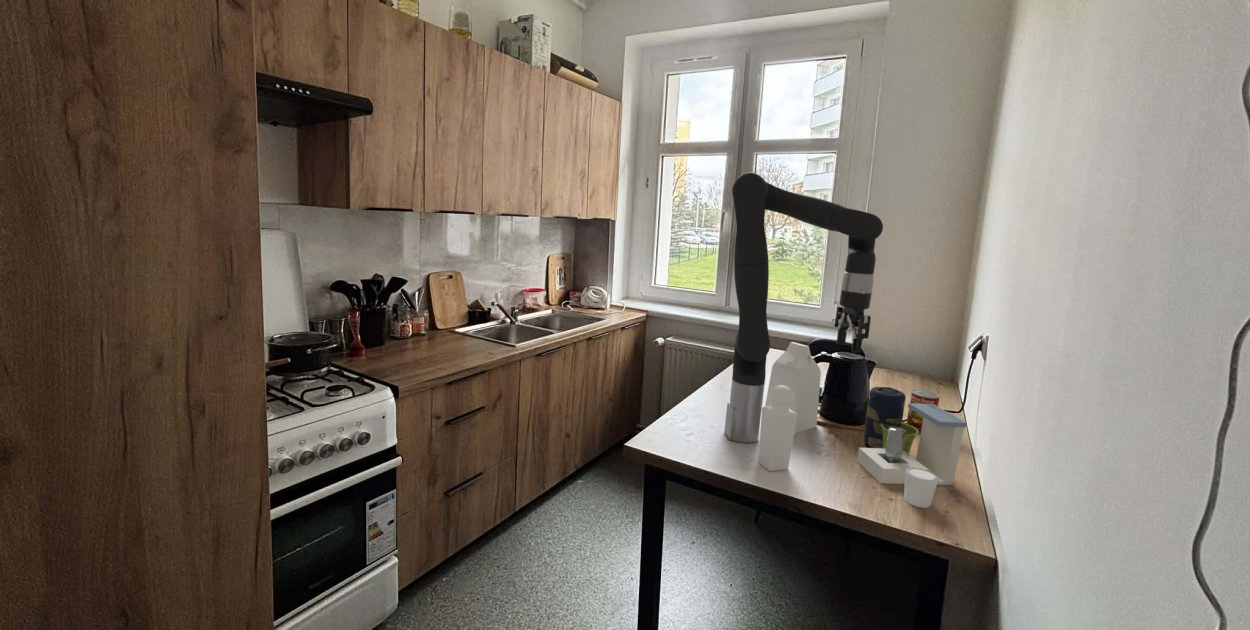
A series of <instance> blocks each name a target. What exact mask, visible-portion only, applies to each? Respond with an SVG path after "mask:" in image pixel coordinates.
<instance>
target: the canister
mask: <svg viewBox="0 0 1250 630" xmlns="http://www.w3.org/2000/svg"><path fill="white" fill-rule="evenodd" d="M906 399H907V397H906V394H905V393H904V392H903V391H901V390H899V389H895V388H893V387H888V386H887V387H886V386H874V387H872V388H870V391H869V396H868V403H867V409H866V416H865V421H864V422H865V423H864V431H863V432H864V433H863V437H862V438H863V442H864V443H865V444H866V445H868V446H870V448H883V432H882V427H881V423H882V424H883V427H884V428H886V429H888V430H889V427H892V426H893V427H899V428H900V427H901V423H903V417H904V411H905V405H906Z"/></svg>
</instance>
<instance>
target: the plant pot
mask: <svg viewBox="0 0 1250 630" xmlns="http://www.w3.org/2000/svg"><path fill="white" fill-rule="evenodd" d="M881 427H882V432H883V448H886V442H887V436H888V429H886V428H884V427H883V424H882V423H881ZM900 428H902V429H904V430H906V434H905V440H904V446H903V451H905V452H906V453H907V454H909V455H910V452H911V449H912V446H913V443H914V440H915V439H916V436H917V435H919V433H918V432H919V431H918V430H917V429H916V428H914V427H912V426H910V425H907V424H906V423H903V422H902V423H901V427H900Z"/></svg>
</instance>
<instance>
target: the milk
mask: <svg viewBox="0 0 1250 630" xmlns="http://www.w3.org/2000/svg"><path fill="white" fill-rule="evenodd" d="M810 350H811V349H810V346H809V345H805V344H802V343H798V342H794V341H791V342H790V343H789V344H788V346H787V348H786V350H785V351H784V352H783V353H782V354H781V355H780V356H779V357H778V358H777V359H776V360H775V361H774V363H773V364H772V366H771V371H770V377H769V383H768V387H767V388H768V389H767V394H766V398H765V405H764V406H772V403H771V399H770V398H769V395H770V393H771V391H772V389H773V388H774V387H776V386H778V385H785V386H787V387H788V388H790V390H791V391H792V394H793V398H794V401H793V402H792V403H791V404H790V406H789V409H790V410H792V411H794V412H796V413H797V422H796V427H795V433H794V434H797V433H799V432H803V431H807V430H811V429H814V428H817V425H818V413H819V403H820V402H819V401H820V388H821V377H822V371H821V368H820V367H819V365H818V363H817V362H816V361H815V359H814V358H813V357H812V356H811V355H812V354H811V351H810Z"/></svg>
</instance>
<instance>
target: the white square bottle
mask: <svg viewBox="0 0 1250 630" xmlns="http://www.w3.org/2000/svg"><path fill="white" fill-rule="evenodd" d="M769 398H770V399H771V403H772V406H765V405H764V406H762V410H761V419H760V429H759V445H758V458H757V459H758V460H757V462H758V463H759V464H760V465H761V466H763V467H764V468H765V469H766V470H768V471H769V472H778V471H785V470H786V471H787V470H789V467H790V460H791V455H792V448H793V444H794V439H795V438H794V437H795V434H796V433H795V427H796V422H797V413H796V412H794V411H792V410H790V409H789V406H790V404H791V403H792V402H793V401H794V398H793V394H792V391H791V390H790V388H788V387H787V386H785V385H778V386H776V387H774V388H773V389H772V391H771V393H770V395H769Z"/></svg>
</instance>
